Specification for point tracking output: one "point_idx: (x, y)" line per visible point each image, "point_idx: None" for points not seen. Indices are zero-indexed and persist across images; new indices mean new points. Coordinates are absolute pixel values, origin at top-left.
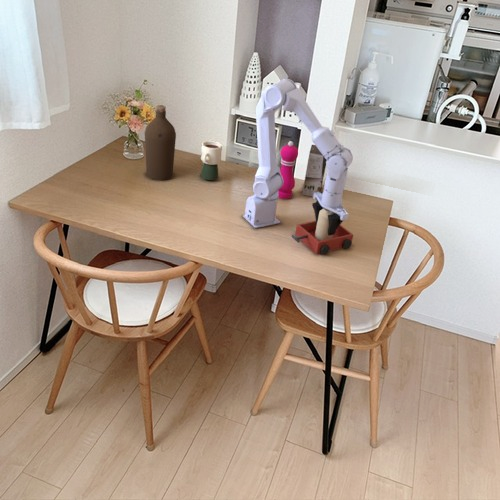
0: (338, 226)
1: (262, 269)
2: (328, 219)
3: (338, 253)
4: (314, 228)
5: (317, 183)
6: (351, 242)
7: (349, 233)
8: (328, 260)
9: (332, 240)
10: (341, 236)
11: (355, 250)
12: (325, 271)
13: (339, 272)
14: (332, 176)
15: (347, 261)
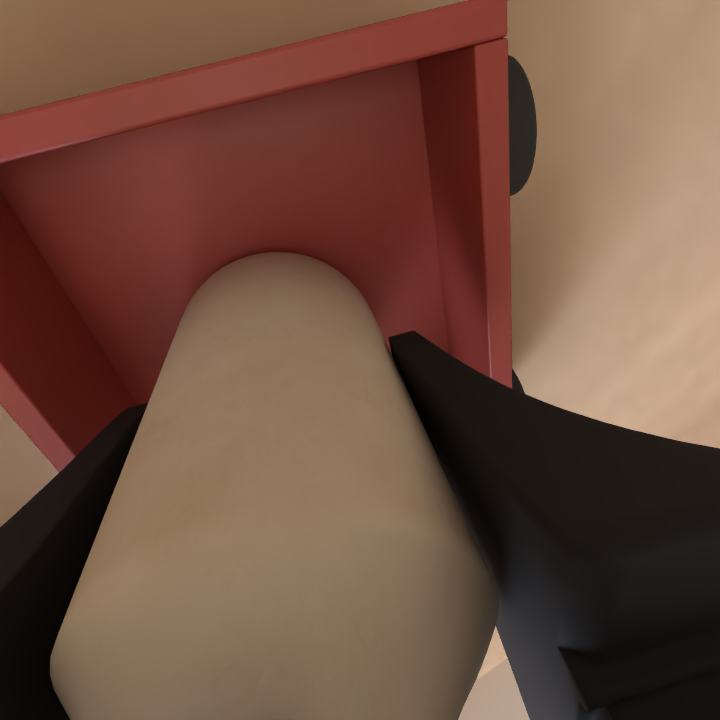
0: (494, 382)
1: (499, 641)
2: (517, 669)
3: (515, 257)
4: (108, 394)
5: None
6: (517, 66)
7: (439, 53)
8: (564, 373)
9: (507, 379)
10: (490, 255)
11: (537, 11)
12: (649, 424)
13: (709, 347)
14: None
15: (647, 227)
